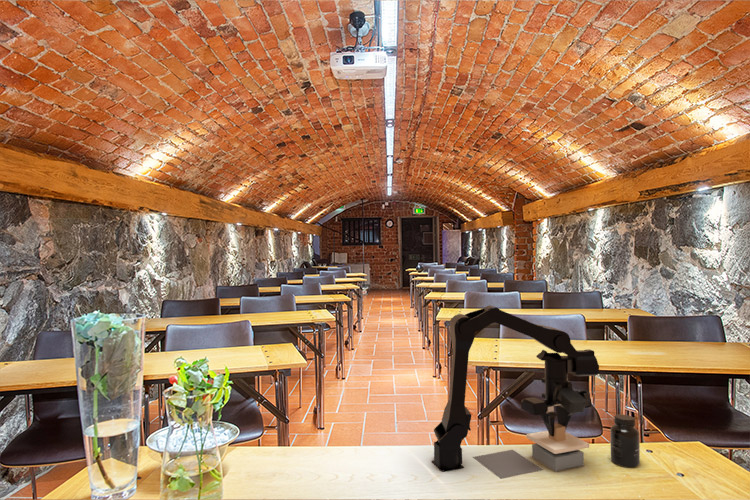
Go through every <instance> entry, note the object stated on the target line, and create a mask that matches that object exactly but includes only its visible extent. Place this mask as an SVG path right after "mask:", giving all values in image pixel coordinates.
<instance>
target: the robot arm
mask: <svg viewBox="0 0 750 500" xmlns="http://www.w3.org/2000/svg"><path fill="white" fill-rule="evenodd" d="M449 320H450V321H449V335H450V339H451V340H450V341H451V345H452V355H451V366H450V367H451V368H450V380H449V391H448V392H449V393H448V400H447V402H446V405H445V407H444V410H443V414H442V418H441V422H439V423H438V424H437V426H436V427H434V429H433V432H434V435H435V438H436V439H437V440H436V441H434V442H433V457H434V458H433V459H434V460H431V463H432V464H433V465H434V466H435V467H436V468H437V469H438V470H439V471H441V472H442V473H445V472H451V471H456V470H461V469H464V468H465V467H464V466H463V448H462V447H461V445H462V442H463V440H464V439H465V438H467V436H468V433H469V431H470V432H471V430H472V429H471V425H470V424H471V420H472V413H471V412H470V411H469V409H468V408H467V407H466V406H465V404H466V403H465V401H466V392H467V390H466V389H467V380H468V379H467V377H468V367H469V366H468V365H469V356H470V355H469V354H470V353H469V352H470V350H471V347H473V343H474V341H475V337H476V334H477V332H480V331H482V330H484V329H486V328H487V327H488V326H490V325H492V324H494V323H496V324H498V325H501V326H503V327H506V328H508V329H510V330H512V331H515V332H518V333H519V334H521V335H525V336H528V337H530V338H531V339H532V340H534V341H536V342H537V343H539V344H541V345H542V346H544V347H545V348H547V349H549V350H552V351H553V352H548V351H546V350H544V349H542V350H541V351H540V353H538V354H537V355H536V358H537V359H538V360H540V361H544V377H541V383H543V384H544V393H543V392H542V393H541V398H543V399H544V400H542V399H540V398H537V397H534V396H533V397H532V396H531V397H526V398H523V399H521V402H520V408H521V410H523V411H525V412H527V413H529V414H531V415H534V416H540V418H541V419H542V421H543V423H544V425H545V428H546V429H547V430H546V431H548V432H549V434H550V436H552V437H553V436H554V423H555V418H556V417H557V423H559V424H561V425H563V426H565V427H566V429H567V427H568V424H569V423H570V419H571V417H572V416H573V415H574V414H575V413H583V412H584V411H585V409H586V408H592V399H591V393H590V392H589V391H588V390H586V389H584V390H580V391H579V390H574V388H573V384H572V381H570V380H569V377H568V376H569V373H570V374H571V375H572V376H573V377H595V376H598V374H599V371H600V364H599V362H598V359H597V356H595V351H594V350H592V349H584V350H577V349H576V348H575V347H574V346H573V344H572V342H571V337H570V334H568V332H566V331H563V330H560V329H558V328H557V327H556V328H555V327H552V326H548V325H547V326H546V325H542V324H536V323H533V322H530V321H528V320H526V319H524V318H520V317H518V316H515V315H513V314H511V313H509V312H506V311H504V310H501V309H500V308H499V307H496V306H495V305H487V306H485V307H483V308H481V309H476V310H473V311H470V312H467V313H465V314H463V313H458V314H455V315H454V316H452V317H451V319H449ZM562 353H563V354H564V355H561V354H562ZM555 410H556V412H555Z"/></svg>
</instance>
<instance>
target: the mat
mask: <svg viewBox="0 0 750 500" xmlns="http://www.w3.org/2000/svg"><path fill="white" fill-rule="evenodd" d="M472 458H473V459H474V460H475V461H477V462H478V463H480V465H482V466H484V467H485V468H486V469H487V470H488V471H490V472H491V473H493V474H494V475H495V476H496V477H498V478H499V479H506V478H511V477H512V478H513V477H516V476H520V475H526V474H531V473H536V472H541V471H544V469H543V468H542V467H541V466H539V465H537V464H536V463H534V462H533V461H531V460H530V459H528V458H526V457H525V456H523V455H522V454H520V453H519V452H517V451H516V450H514V449H508V450H503V451H497V452H493V453H486V454H481V455H477V456H472Z"/></svg>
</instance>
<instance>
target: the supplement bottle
mask: <svg viewBox="0 0 750 500" xmlns="http://www.w3.org/2000/svg"><path fill="white" fill-rule="evenodd" d="M613 423H614V424H613V425H612V426H610V431H609V432H610V434H609V435H610V460H611V461H612V462H613V463H614V464H615V465H617V466H620V467H623V468H637V467H639V465H640V462H641V461H640V460H641V458H640V457H641V456H640V453H641V452H640V447H641V446H640V432H639V430H638V429H637V428H636V419H635V417H633V416H631V415H627V414H622V413H621V414H620V413H619V414H615V415H614V421H613Z"/></svg>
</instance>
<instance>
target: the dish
mask: <svg viewBox="0 0 750 500" xmlns="http://www.w3.org/2000/svg"><path fill="white" fill-rule="evenodd" d="M531 447H532V452H531V453H532V454H531V455H532V458H533V459H534V460H536V461H537V462H539V463H540V464H542V465H544V466H546V467H547V468H548V469H550V470H552V471H554V472H555V473H558V472H562V471H567V470H571V469H576V468H582V467H584V466H585V463H584V461H585V459H584V456H585V455H584V452H583V450H582V451H581V449H579V450H574V451H569V452H564V453H558V454H554V453H552V452H550V451H549V450H547V449H545V448H543V447H542V446H540V445H538V444H536V443H533V444H532V445H531Z"/></svg>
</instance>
